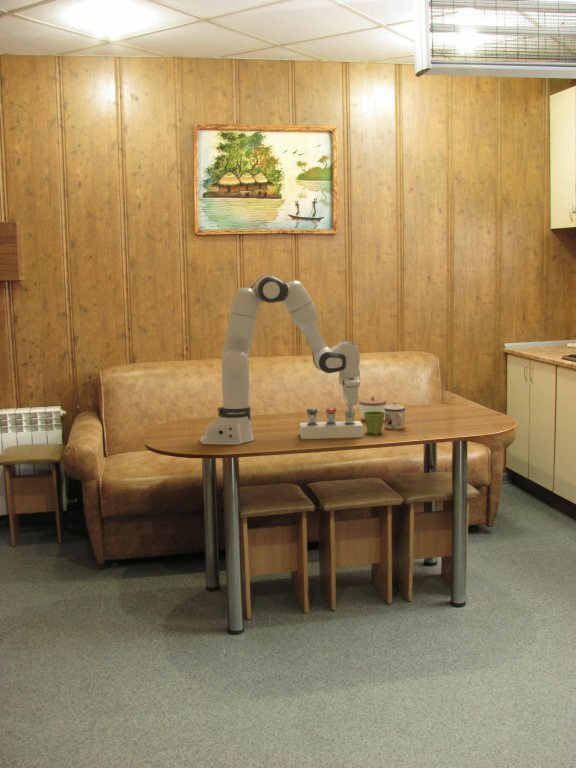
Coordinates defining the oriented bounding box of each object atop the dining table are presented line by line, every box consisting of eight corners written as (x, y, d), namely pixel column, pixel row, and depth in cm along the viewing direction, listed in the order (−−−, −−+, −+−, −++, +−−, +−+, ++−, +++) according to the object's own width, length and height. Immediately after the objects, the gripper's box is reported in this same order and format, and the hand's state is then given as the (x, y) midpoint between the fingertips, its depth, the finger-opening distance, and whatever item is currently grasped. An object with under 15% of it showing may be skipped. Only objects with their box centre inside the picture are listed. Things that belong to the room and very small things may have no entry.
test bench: (301, 439, 337) (301, 427, 336) (299, 434, 347) (299, 422, 346) (363, 437, 338) (363, 425, 338) (359, 432, 348) (359, 420, 347)
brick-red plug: (326, 424, 339) (326, 410, 338) (325, 422, 344) (325, 408, 343) (336, 424, 340) (336, 409, 339) (335, 422, 344) (335, 407, 343)
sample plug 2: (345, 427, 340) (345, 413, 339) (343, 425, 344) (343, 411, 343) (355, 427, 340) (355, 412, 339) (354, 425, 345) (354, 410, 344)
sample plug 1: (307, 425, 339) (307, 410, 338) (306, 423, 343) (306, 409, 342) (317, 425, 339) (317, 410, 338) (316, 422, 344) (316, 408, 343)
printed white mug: (381, 426, 360) (381, 400, 358) (399, 424, 362) (400, 399, 360) (391, 431, 348) (391, 405, 346) (411, 430, 351) (411, 403, 349)
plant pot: (368, 435, 341) (368, 415, 339) (360, 431, 350) (359, 411, 348) (388, 434, 343) (388, 414, 342) (380, 429, 352) (380, 410, 351)
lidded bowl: (362, 423, 367) (362, 399, 366) (356, 417, 380) (356, 394, 378) (389, 421, 369) (389, 398, 367) (382, 416, 381) (382, 393, 380)
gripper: (339, 376, 349) (339, 407, 352) (345, 383, 329) (345, 416, 331) (353, 375, 350) (353, 407, 352) (360, 382, 330) (360, 416, 332)
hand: (350, 411), depth 341 cm, fingers closed, pressing on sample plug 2
